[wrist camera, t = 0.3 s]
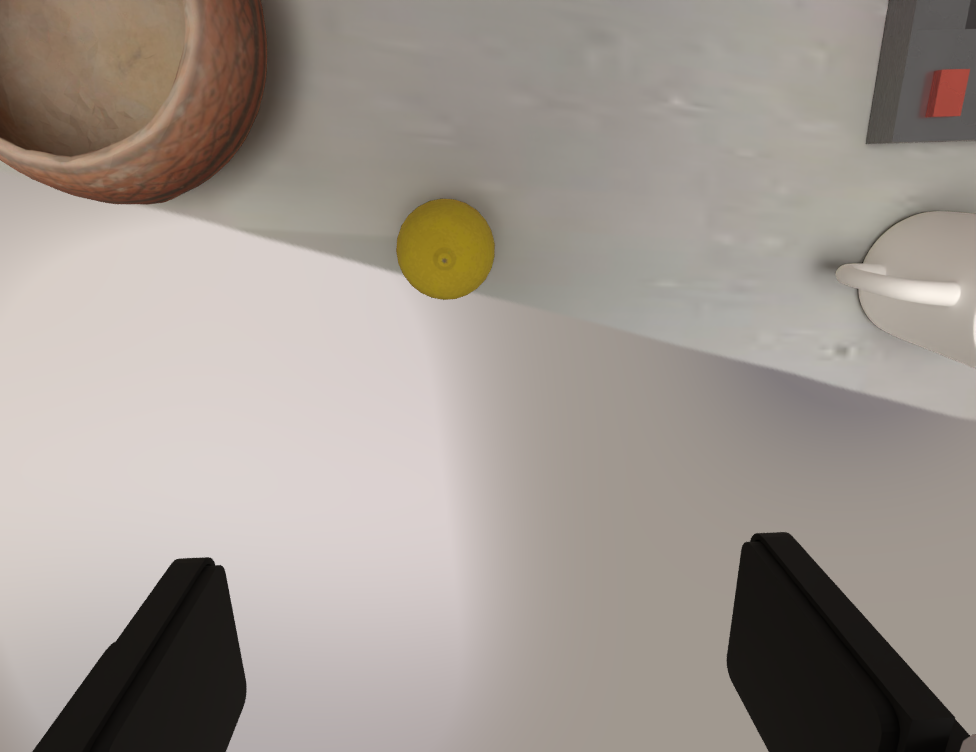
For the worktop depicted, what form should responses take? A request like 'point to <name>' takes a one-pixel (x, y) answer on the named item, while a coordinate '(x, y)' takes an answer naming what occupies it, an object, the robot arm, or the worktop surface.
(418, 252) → the lemon
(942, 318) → the cup
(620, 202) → the worktop surface
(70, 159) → the bowl
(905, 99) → the socket
